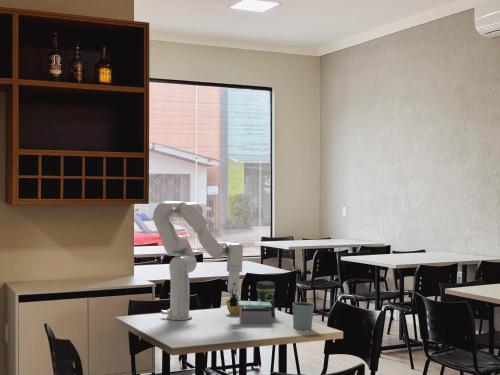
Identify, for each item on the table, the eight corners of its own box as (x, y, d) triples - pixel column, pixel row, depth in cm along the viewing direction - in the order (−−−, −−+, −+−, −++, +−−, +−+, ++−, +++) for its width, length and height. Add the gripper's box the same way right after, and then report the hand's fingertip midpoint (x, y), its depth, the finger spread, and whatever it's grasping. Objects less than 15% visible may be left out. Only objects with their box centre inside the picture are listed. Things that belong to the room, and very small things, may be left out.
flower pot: (249, 315, 365) (249, 301, 365) (234, 317, 358) (234, 303, 359) (237, 312, 373) (237, 299, 373) (222, 314, 366) (222, 300, 366)
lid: (230, 308, 337) (231, 296, 337) (229, 304, 348) (230, 293, 348) (271, 309, 339) (272, 298, 339) (269, 305, 350) (269, 294, 350)
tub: (240, 324, 338) (240, 311, 338) (239, 321, 348) (239, 308, 348) (271, 324, 339) (271, 311, 339) (269, 321, 349) (269, 308, 349)
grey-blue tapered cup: (288, 327, 332) (289, 302, 333) (307, 326, 336) (307, 301, 337) (298, 331, 323) (298, 305, 323) (317, 330, 327) (317, 304, 327)
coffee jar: (269, 315, 366) (269, 279, 366) (277, 317, 359) (277, 281, 359) (253, 316, 361) (253, 280, 361) (261, 319, 354) (261, 282, 354)
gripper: (226, 266, 351) (224, 302, 351) (227, 270, 334) (226, 308, 334) (241, 266, 351) (239, 303, 351) (243, 270, 335) (241, 308, 335)
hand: (233, 305), depth 343 cm, fingers closed on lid, 2 cm apart
